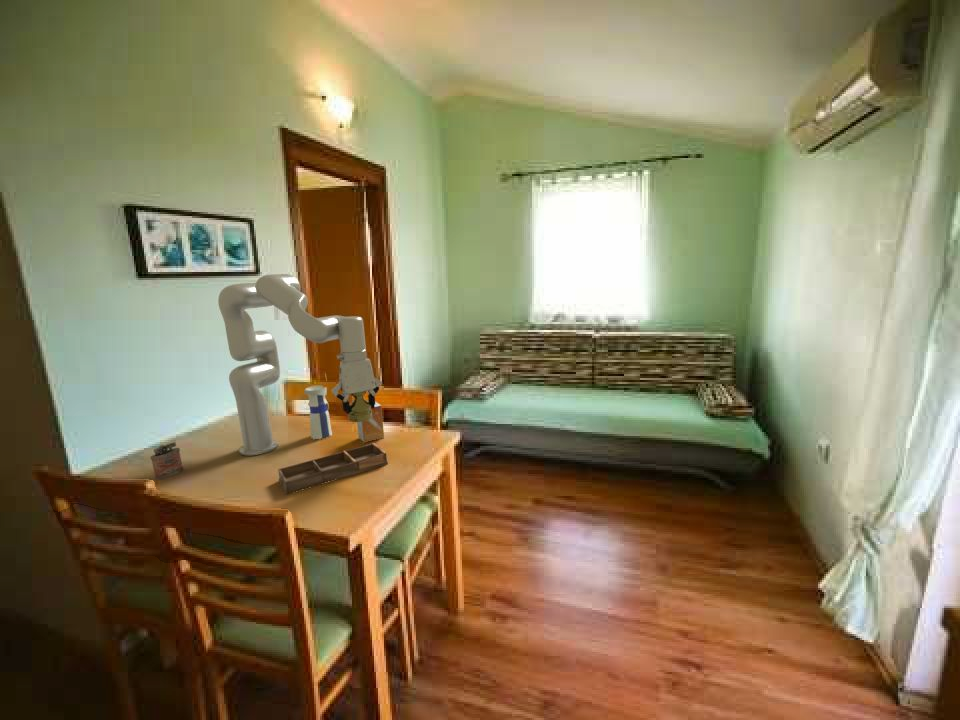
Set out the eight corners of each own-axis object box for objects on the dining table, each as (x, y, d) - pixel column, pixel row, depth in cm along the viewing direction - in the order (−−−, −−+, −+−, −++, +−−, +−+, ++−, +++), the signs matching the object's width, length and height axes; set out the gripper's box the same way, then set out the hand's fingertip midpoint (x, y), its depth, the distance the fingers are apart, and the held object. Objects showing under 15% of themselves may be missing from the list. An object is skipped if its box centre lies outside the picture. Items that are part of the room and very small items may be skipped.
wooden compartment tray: (278, 481, 133) (277, 468, 132) (374, 453, 151) (373, 442, 150) (287, 495, 124) (285, 482, 123) (388, 464, 141) (387, 452, 141)
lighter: (157, 480, 137) (151, 450, 135) (153, 478, 139) (146, 448, 137) (185, 470, 144) (180, 441, 142) (180, 468, 146) (175, 439, 144)
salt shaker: (344, 419, 140) (341, 389, 138) (365, 413, 145) (362, 384, 143) (356, 424, 135) (353, 393, 133) (377, 417, 140) (374, 387, 138)
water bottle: (326, 430, 176) (319, 369, 170) (336, 434, 170) (329, 372, 165) (306, 436, 170) (298, 374, 165) (316, 441, 164) (308, 377, 159)
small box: (363, 443, 160) (360, 409, 157) (358, 438, 165) (354, 405, 163) (384, 438, 164) (381, 405, 162) (378, 433, 170) (375, 401, 167)
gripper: (329, 362, 128) (336, 419, 131) (385, 353, 138) (389, 407, 141) (322, 358, 134) (329, 413, 137) (376, 350, 144) (380, 402, 147)
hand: (359, 409), depth 139 cm, fingers closed on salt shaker, 7 cm apart
